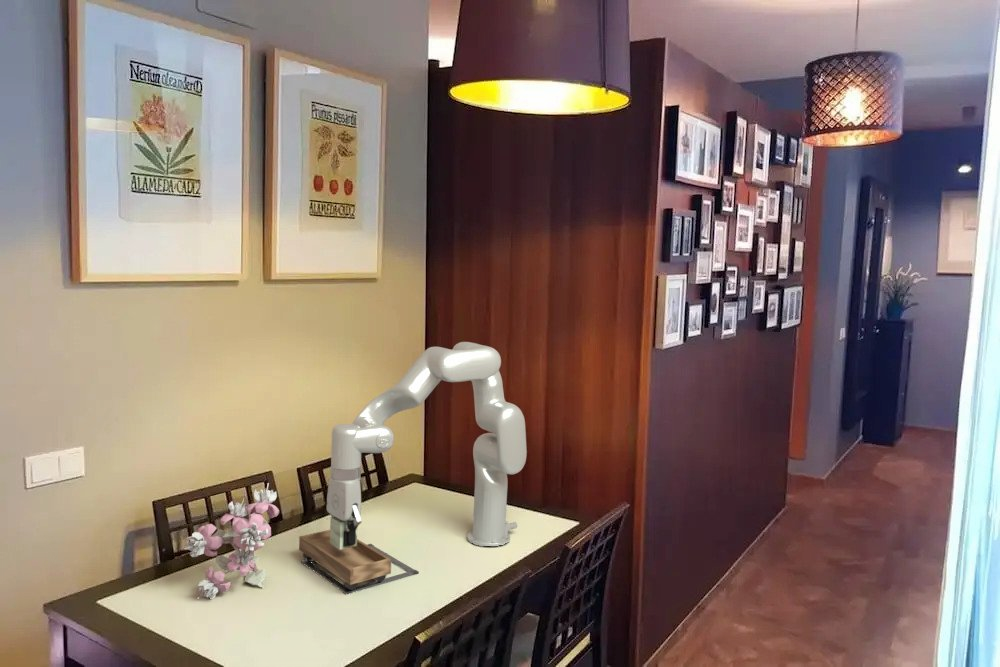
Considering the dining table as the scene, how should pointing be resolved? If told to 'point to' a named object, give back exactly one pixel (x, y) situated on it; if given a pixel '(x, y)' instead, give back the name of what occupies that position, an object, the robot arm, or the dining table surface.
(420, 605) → the dining table surface
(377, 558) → the cart
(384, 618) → the dining table surface
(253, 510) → the flower
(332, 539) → the sage block
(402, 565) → the grey flat square frame
